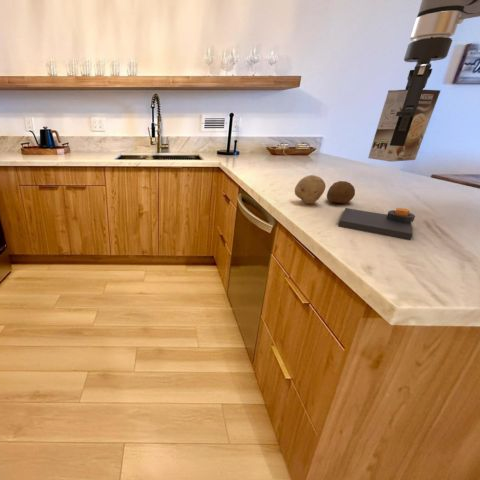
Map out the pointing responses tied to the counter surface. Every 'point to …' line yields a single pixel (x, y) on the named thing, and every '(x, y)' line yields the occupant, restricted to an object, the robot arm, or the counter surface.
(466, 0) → the robot arm
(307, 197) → the light tan potato
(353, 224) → the scale
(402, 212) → the tare button
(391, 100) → the coffee box
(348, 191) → the potato
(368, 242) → the counter surface
